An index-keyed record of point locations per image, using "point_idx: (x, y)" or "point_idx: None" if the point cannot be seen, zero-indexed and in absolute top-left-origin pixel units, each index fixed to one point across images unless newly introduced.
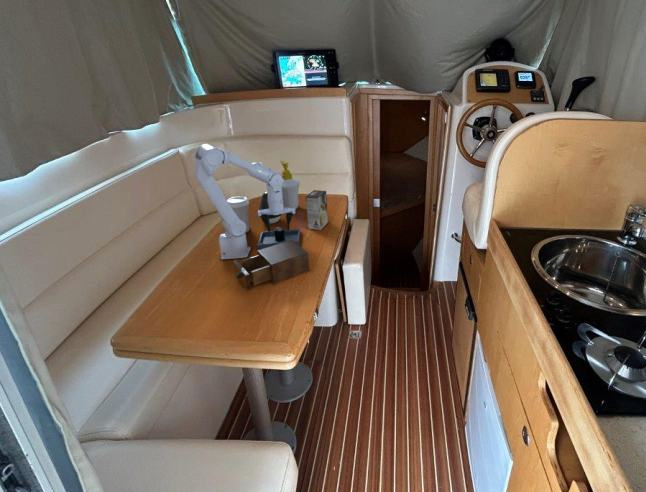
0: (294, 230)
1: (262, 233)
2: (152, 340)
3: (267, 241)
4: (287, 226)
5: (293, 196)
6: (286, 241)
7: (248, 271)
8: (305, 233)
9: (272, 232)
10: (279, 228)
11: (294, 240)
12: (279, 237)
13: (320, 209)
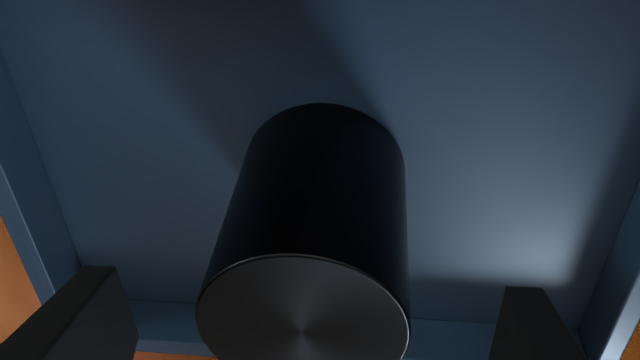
0: None
1: (609, 340)
2: None
3: (539, 144)
4: (44, 337)
5: None
6: (203, 85)
7: None
8: (15, 276)
9: (449, 347)
10: (293, 345)
11: (73, 96)
12: (310, 149)
13: None
